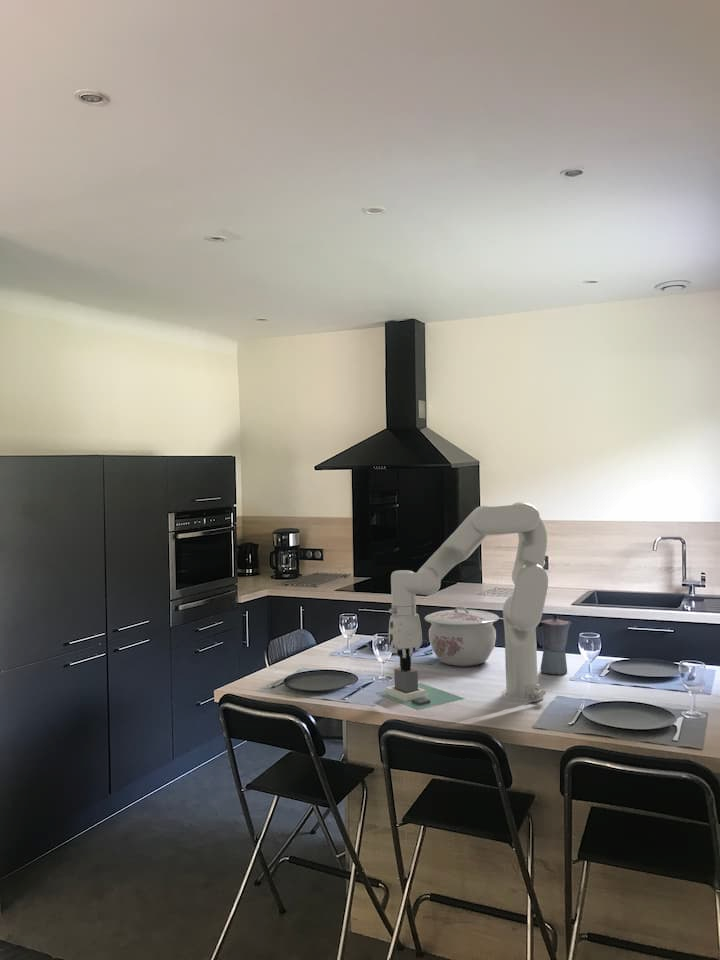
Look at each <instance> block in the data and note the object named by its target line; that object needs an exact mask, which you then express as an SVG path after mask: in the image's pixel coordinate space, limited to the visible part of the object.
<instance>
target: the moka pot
mask: <svg viewBox="0 0 720 960" xmlns="http://www.w3.org/2000/svg"><path fill="white" fill-rule="evenodd" d="M552 616H553V618H550V619H544V620H540V622H539V624H538V626H537V627H538V628H541V633H542V643H543V645H540V643H539V639H538V634H537V632H536V641H537V647H536V648H537V649H543V652H542V656H541V663H540V671H541V672H542V673H544V674H548V675H549V674H550V675H565V674H568V666H567V655H566V653H567V652H566V651H565V650H566V645H567V642H568V635H569V628H570V626H571V625H572V622H571V621H568V620H562V619H560V618H559V619H558V614H556V613H554V614H552Z"/></svg>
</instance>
